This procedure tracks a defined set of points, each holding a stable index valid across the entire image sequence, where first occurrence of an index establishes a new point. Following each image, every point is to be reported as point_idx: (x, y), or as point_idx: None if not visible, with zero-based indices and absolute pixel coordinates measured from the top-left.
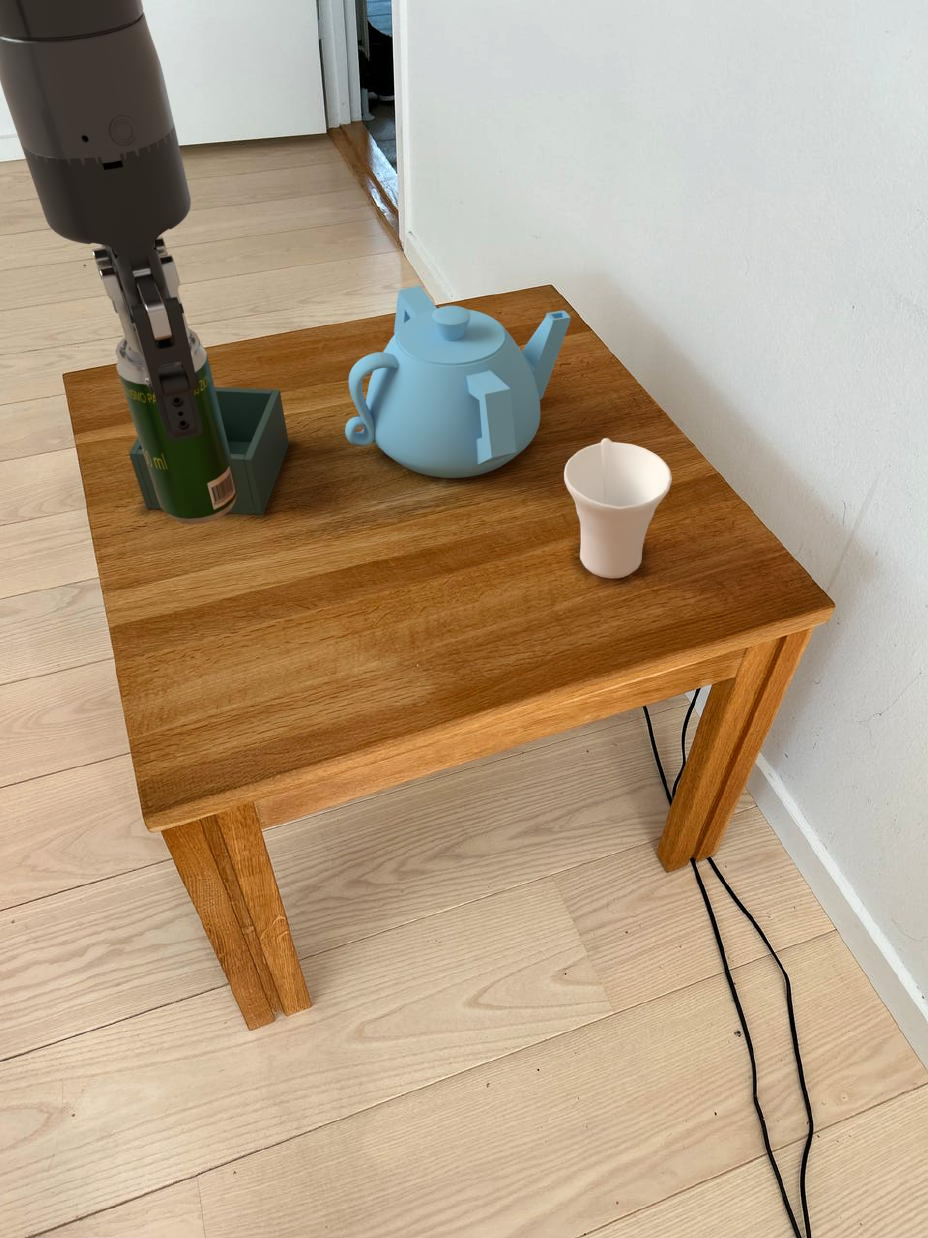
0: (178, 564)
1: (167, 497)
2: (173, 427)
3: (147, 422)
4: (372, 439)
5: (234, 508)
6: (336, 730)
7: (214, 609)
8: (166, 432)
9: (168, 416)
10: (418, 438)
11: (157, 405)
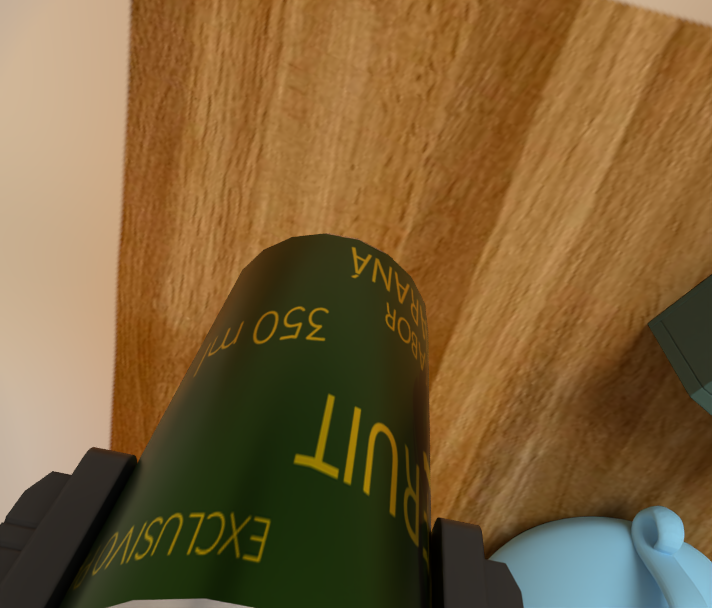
0: (649, 154)
1: (261, 272)
2: (11, 512)
3: (161, 451)
4: (632, 530)
5: (693, 297)
6: (162, 193)
7: (498, 158)
8: (74, 470)
9: (14, 543)
10: (542, 581)
11: (35, 562)
